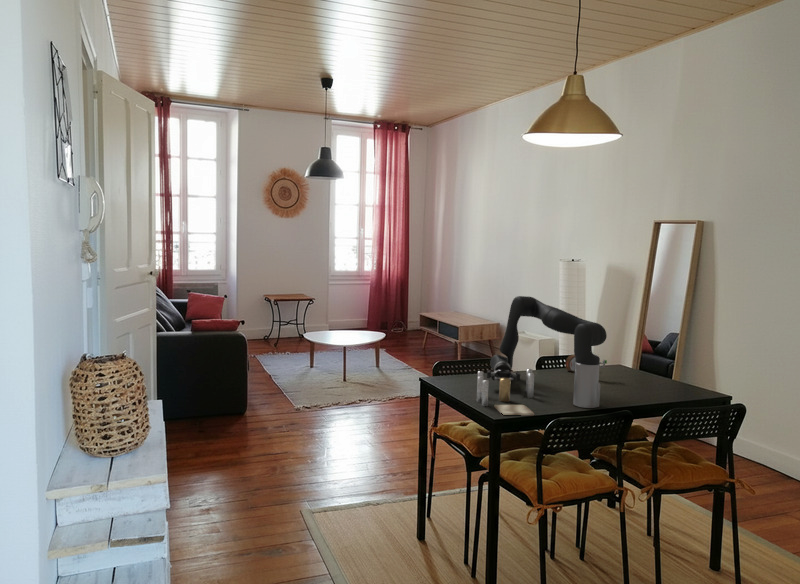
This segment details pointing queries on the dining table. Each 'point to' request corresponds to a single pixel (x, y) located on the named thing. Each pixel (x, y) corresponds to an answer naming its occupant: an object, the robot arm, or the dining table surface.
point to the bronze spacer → (504, 389)
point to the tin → (570, 363)
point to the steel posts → (484, 386)
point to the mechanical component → (603, 364)
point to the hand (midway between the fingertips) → (504, 378)
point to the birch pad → (513, 410)
